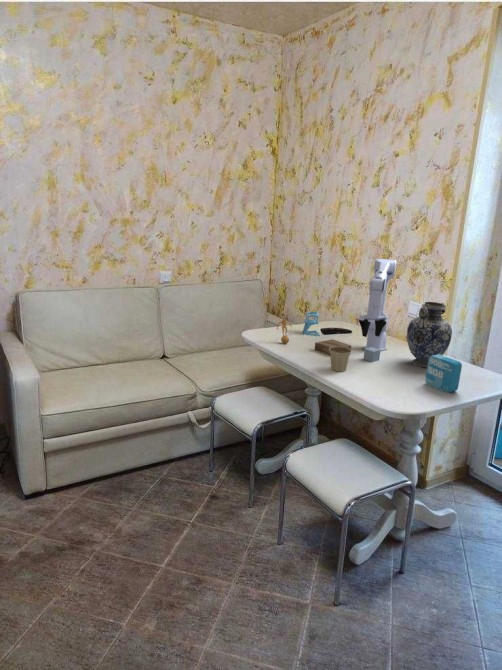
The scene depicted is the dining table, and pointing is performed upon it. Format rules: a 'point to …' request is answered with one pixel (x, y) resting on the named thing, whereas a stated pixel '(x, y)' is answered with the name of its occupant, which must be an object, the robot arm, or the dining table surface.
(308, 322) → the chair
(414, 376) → the dining table surface
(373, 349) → the slate cube
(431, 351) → the decorative vase
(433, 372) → the data package
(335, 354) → the flower pot
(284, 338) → the figurine
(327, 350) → the walnut base block
